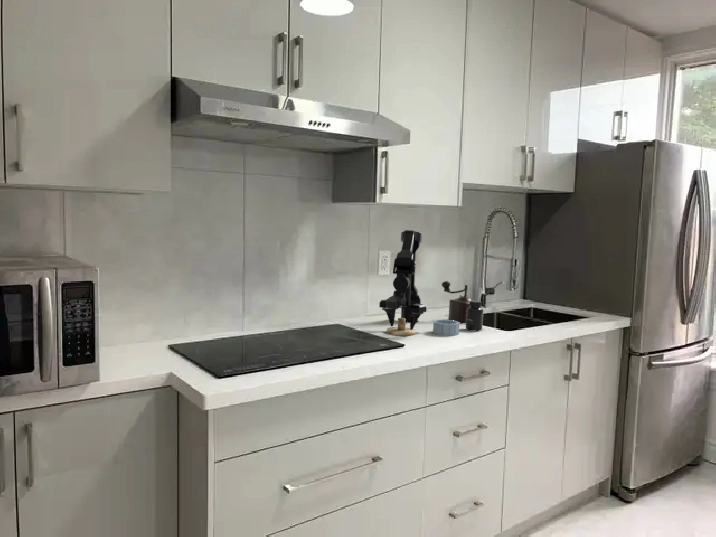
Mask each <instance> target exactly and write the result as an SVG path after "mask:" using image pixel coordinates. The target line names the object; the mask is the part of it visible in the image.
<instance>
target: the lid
mask: <svg viewBox="0 0 716 537" xmlns="http://www.w3.org/2000/svg"><path fill="white" fill-rule="evenodd" d="M406 323H407V322H406V319H405V318H401V317H398V318H397V326H390V327H387V329H386V331H387V333H389V334H388V335H391V334H392V336H396V335H399V336H398V337H402V336H408V337H411V336H410V335H412V336H416V335H417V334H416V332H417V330H416V329H415V328H413V330H410V327H406V326H407V325H406ZM415 334H416V335H415Z"/></svg>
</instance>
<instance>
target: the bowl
mask: <svg viewBox="0 0 716 537" xmlns="http://www.w3.org/2000/svg"><path fill="white" fill-rule="evenodd" d="M432 324H433V326H432V327H433V328H432V333H433V334H435V335H438V336H446V337H447V336H448V337H449V336H450V337H454V336H458V335H459V333H460V323H459V322H457V321H453V320H449V319H434V320H433V323H432Z"/></svg>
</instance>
